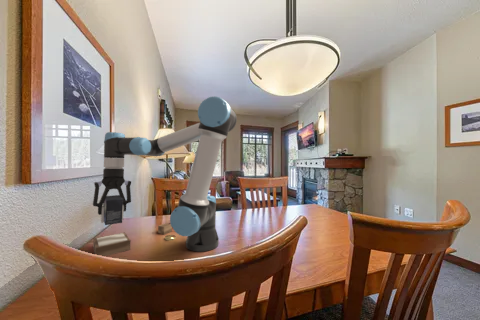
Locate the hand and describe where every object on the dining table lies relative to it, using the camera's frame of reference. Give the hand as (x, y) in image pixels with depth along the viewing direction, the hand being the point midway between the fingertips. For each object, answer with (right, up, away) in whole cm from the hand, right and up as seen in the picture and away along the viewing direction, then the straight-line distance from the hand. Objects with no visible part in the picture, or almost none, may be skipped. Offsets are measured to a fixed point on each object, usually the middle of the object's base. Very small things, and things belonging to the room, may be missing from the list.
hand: (112, 220), depth 83 cm
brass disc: (+21, -13, +12) cm, 28 cm away
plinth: (0, -12, 0) cm, 12 cm away
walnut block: (+15, -13, +20) cm, 28 cm away
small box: (0, 0, 0) cm, 1 cm away
